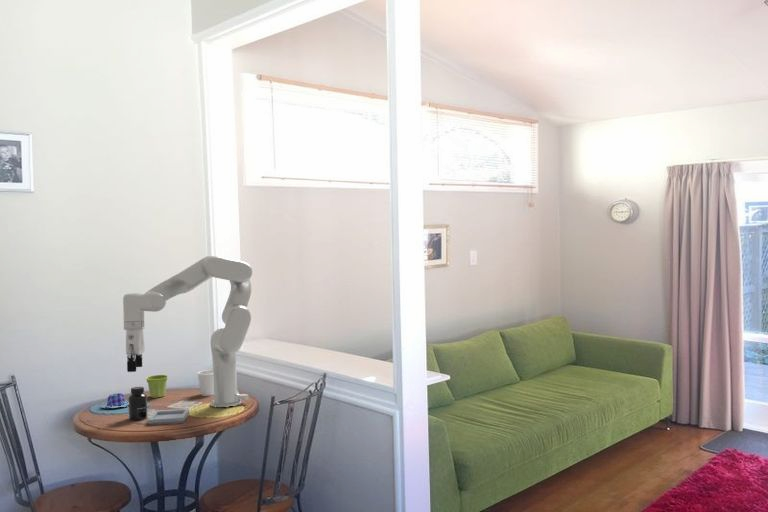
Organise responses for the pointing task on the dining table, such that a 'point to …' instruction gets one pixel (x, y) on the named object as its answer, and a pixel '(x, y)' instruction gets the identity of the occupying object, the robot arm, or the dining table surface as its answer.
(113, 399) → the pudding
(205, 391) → the dixie cup
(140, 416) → the supplement bottle
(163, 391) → the plant pot
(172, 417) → the tray
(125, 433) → the dining table surface
